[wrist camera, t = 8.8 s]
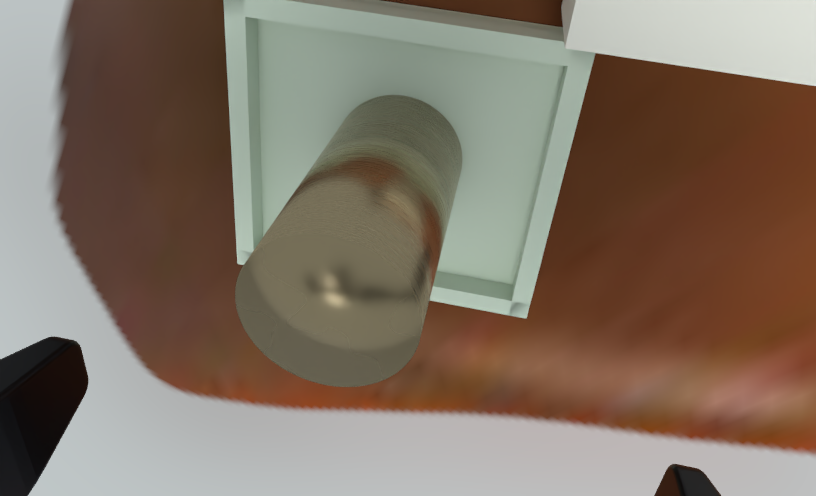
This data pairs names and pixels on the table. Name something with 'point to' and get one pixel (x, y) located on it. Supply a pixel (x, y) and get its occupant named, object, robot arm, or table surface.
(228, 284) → the table surface
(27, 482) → the robot arm
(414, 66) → the tray
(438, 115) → the plug
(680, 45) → the white block with recess
